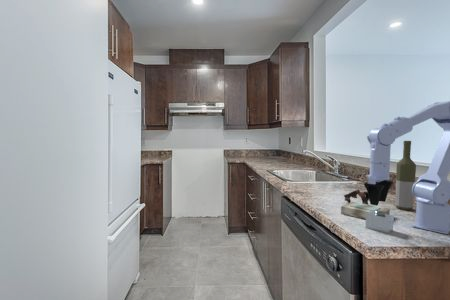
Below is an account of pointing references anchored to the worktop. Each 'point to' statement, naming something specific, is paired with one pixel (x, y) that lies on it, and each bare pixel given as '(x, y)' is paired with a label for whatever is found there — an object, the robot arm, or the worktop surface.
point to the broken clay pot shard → (354, 195)
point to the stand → (361, 209)
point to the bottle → (405, 179)
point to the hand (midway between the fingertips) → (377, 203)
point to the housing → (379, 221)
